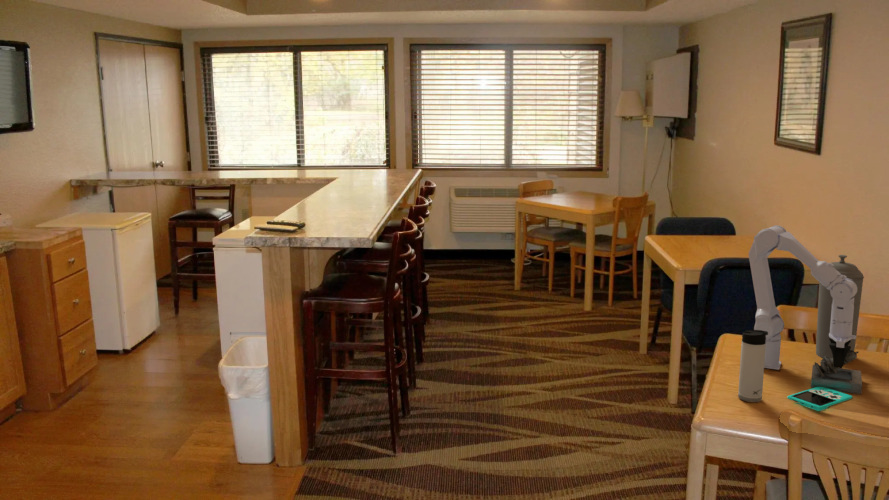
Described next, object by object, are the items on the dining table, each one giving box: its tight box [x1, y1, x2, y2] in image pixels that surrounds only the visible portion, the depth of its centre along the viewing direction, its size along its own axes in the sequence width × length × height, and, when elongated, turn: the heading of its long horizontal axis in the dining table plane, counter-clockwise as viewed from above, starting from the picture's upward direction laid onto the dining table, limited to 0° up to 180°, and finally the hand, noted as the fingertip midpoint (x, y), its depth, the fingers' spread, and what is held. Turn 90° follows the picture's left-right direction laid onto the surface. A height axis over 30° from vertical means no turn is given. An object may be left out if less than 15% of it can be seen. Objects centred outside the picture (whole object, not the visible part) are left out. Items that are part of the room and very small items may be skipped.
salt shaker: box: [813, 350, 860, 377], centre depth 214 cm, size 6×6×12 cm
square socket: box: [810, 364, 863, 395], centre depth 216 cm, size 13×13×3 cm
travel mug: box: [737, 329, 768, 403], centre depth 204 cm, size 6×7×20 cm
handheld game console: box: [786, 387, 853, 412], centre depth 205 cm, size 10×16×1 cm, turn 121°
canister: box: [815, 254, 865, 363], centre depth 235 cm, size 13×13×35 cm
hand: (838, 364), depth 215 cm, fingers open, 5 cm apart
